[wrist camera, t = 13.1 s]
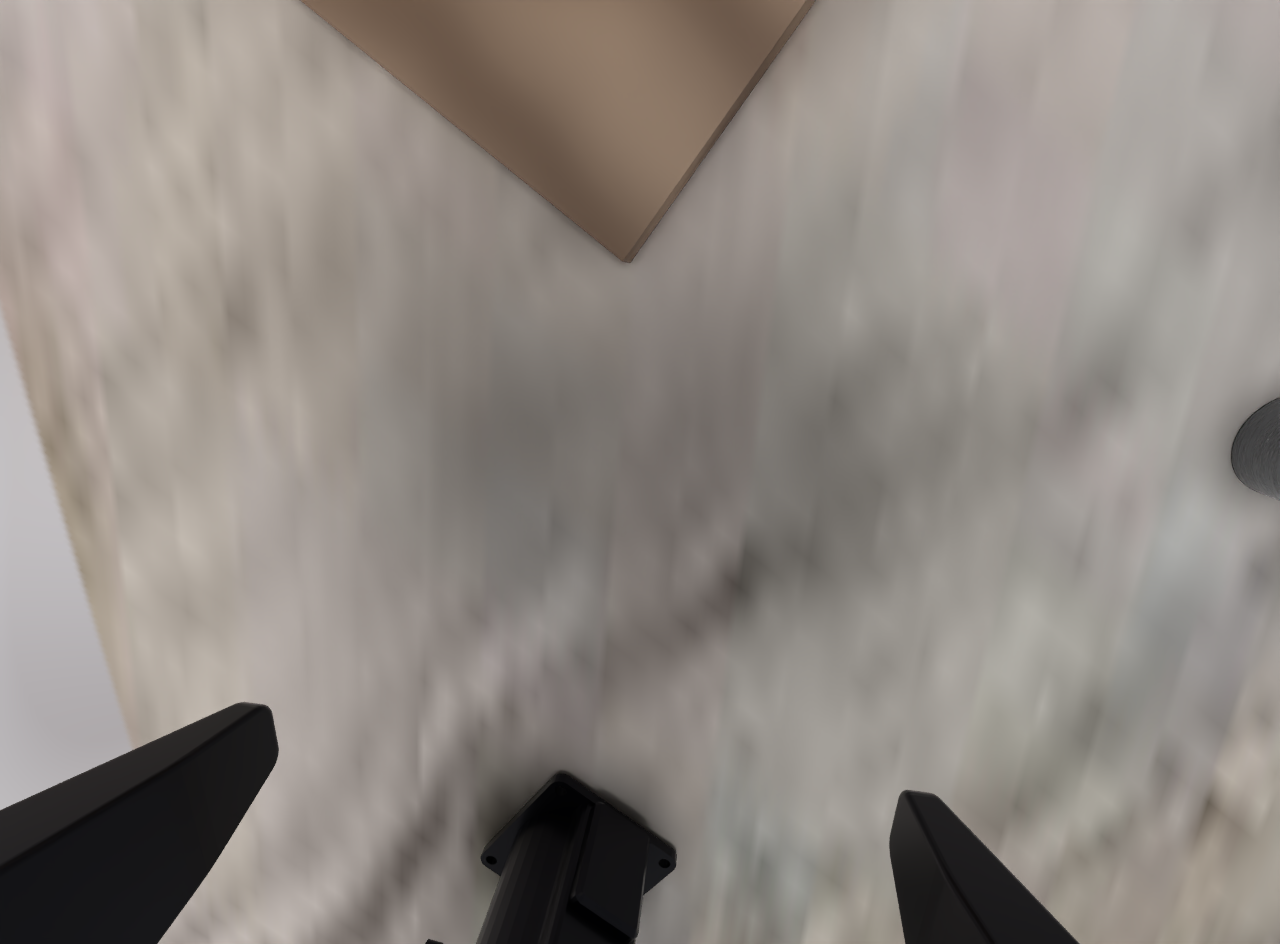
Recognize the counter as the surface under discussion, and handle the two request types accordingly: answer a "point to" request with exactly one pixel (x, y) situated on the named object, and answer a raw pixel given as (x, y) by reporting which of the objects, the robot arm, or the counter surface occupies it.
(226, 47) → the counter surface
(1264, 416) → the steel spacers
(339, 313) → the counter surface
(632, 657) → the counter surface
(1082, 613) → the counter surface
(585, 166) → the walnut board
